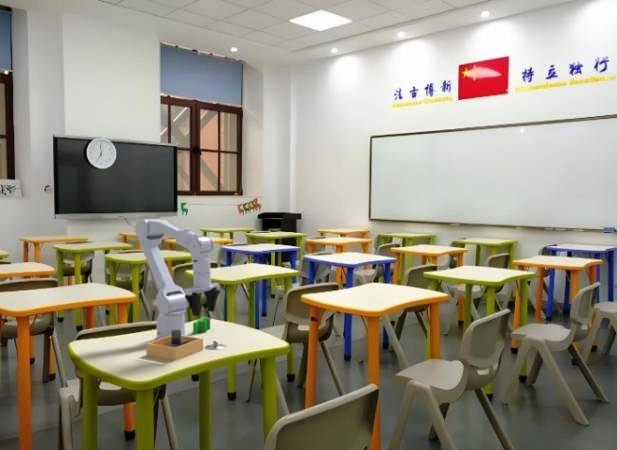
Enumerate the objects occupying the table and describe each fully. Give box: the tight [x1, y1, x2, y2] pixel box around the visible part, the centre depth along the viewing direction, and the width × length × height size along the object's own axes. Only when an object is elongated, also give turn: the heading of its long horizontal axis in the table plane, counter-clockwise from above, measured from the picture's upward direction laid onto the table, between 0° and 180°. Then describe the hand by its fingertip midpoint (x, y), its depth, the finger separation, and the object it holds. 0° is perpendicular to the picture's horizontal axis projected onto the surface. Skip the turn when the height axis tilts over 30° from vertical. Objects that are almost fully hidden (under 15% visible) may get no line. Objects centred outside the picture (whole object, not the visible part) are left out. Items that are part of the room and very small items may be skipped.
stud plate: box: [204, 340, 227, 351], centre depth 164 cm, size 7×7×2 cm
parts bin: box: [145, 335, 204, 361], centre depth 159 cm, size 12×12×4 cm
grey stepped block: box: [165, 330, 188, 347], centre depth 158 cm, size 5×5×7 cm
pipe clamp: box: [192, 316, 211, 335], centre depth 187 cm, size 11×4×5 cm, turn 173°
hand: (203, 313), depth 169 cm, fingers open, 7 cm apart
